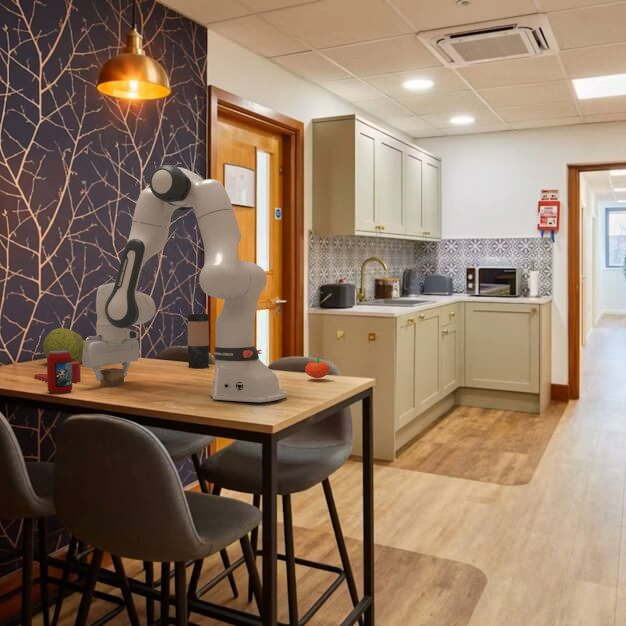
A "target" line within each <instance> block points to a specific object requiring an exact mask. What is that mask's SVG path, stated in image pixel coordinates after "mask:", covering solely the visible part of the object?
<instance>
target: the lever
mask: <svg viewBox="0 0 626 626" xmlns="http://www.w3.org/2000/svg"><path fill="white" fill-rule="evenodd" d="M33 379H35V380H37V379H38V380H37V381H41V380H42V381H41V382H44V381H45V383H47V382H48V380H47V373H35V374H34V378H33ZM80 381H81V362H77V361H72V383H75V384H78V383H77V382H79V383H81V382H82V381H81V382H80Z"/></svg>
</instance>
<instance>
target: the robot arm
mask: <svg viewBox="0 0 626 626" xmlns="http://www.w3.org/2000/svg"><path fill="white" fill-rule="evenodd" d="M148 182H149V187H147V188H145V189H143V190H141V192H140V193H139V195H138V199H137V201H136V205H135V208H134V211H133V217H132V221H131V227H130V232H129V237H128V240H127V242H126V244H125V246H124V249H123V252H122V255H121V260H120V264H119V267H118V270H117V274H116V277H115V278H116V279H115V281H112V282H111V281H110V282H105V283H102V284H100V285H99V286H98V288H97V291H96V298H95V312H96V315H97V320H96V322H95V323H96V324H95V326H96V329H95V330H96V331H95V332H96V335H94V336H93V335H88V337H87V338H86V339H85V340H84V348H83V356H82V361H81V363H82V365H83V367H85V368H92V371H93V373H94V375H95V380H96V381H97V382H100V381H102V380H104V378H103V377H104V375H102V374H101V372H100V370H102V367H103V366H110V365H117V364H121V365H122V368H121V369H124V378H125V377H127V376H128V370H129V368H130V366H131V362H133V363H134V362H138V360H139V359H140V343H139V340H138V338H139V332H138V331H136V330H133V329H130V328H129V327H131V326H135V325H136V326H137V325H142V324H146V323H148V322H150V321H151V320H152V319H154V316H155V315H156V309H157V306H156V302H155V301H154V299H153V297H152V296H150V295H149V294H148V293H147V294H146V293H143V292H140V291H138V290H137V289H138V285H139V281H140V277H141V274H142V269H143V267H144V266H145V264H146V263H147V262H148V260H150V259H151V258H152V257H153V256H155V255H157V254H158V253H160V252H161V251H162V250H163V249H164V248H165V245H166V243H167V241H168V236H169V232H170V227H171V221H172V220H171V219H172V216H173V213H174V212H175V211H176V210H177V209H179V211H185V210H186V211H187V210H194V215H195V217H196V222H197V224H198V228H199V232H200V236H201V238H202V243H203V244H202V245H203V250H204V264H203V267H202V269H201V271H200V272H199V278H198V281H199V282H198V283H199V286H200V288H201V290H202V292H203V293H204V294H205V295H207V296H209V297H212V298H215V299H218V300H223V301H224V302H223V304H222V308H221V311H220V312H219V314H218V316H217V317H216V319H215V346H214V347H213V348H214V350H213V351H214V352H213V353H214V354H213V358H214V362H215V363H214V364H215V366H214V375H213V381H212V382H213V383H212V388H211V392H210V395H209V396H211V397H212V400H220V401H230V402H231V401H233V402H235V401H236V402H246V403H247V402H250V403H265V402H272V401H276V400H277V401H278V400H281V399H284V398H286V397H287V396H288V393H287V391H282V390H280V384H279V379H278V376H277V374H276V373H275V372H274V371H272V369H270V368H269V367H268V366H267V365H266V364H265V363H264V362H263V361H262V360H260V356H259V355H261V354H262V351H263V349H257V348H256V346H255V317H256V313H257V312H256V311H257V307H258V304H259V300H260V296H261V294H262V292H263V291H264V290H265V288H266V286H267V282H268V281H267V280H268V279H267V275H266V272H265V270H264V268H262V266H260V265H258V264H257V263H255V262H252V261H247V260H240V258H239V242H240V241H241V239H242V234H241V231H240V227H239V224H238V221H237V216H236V214H235V211H234V208H233V204H232V202H231V198H230V197H229V194H228V192H227V190H226V188H225V186H224V184H223V183H222V182H221V181H219V180H218V179H212V178H208V179H205V177H203V176H202V175H201V174H198V173H196V172H193V171H191V170H189V169H187V168H184V167H181V166H180V167H179V166H176V165H173V164H163V165H159V166H157V167H156V168H155V169H154V170H153V171H152V172H151V174H150V177H149V181H148Z"/></svg>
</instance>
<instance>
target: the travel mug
mask: <svg viewBox="0 0 626 626" xmlns="http://www.w3.org/2000/svg"><path fill="white" fill-rule="evenodd" d="M209 324H210V323H209V313H190V314H187V358H188V361H187V362H188V368H189V369H192V370H193V369H194V370H204V369H209V364H210V363H209V362H210V360H209V357H210V354H209V353H210V338H209V337H210V335H209V332H210V331H209V327H210V326H209Z"/></svg>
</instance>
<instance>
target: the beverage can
mask: <svg viewBox="0 0 626 626" xmlns="http://www.w3.org/2000/svg"><path fill="white" fill-rule="evenodd" d="M46 363H47V364H46V374H47V380H48V383H47V391H48V392H49V393H51V394H53V393H55V394H56V395H59V394H62V395H63V394H67V393H69V392H71V391H72V390H73V384H72V356H71V355H70V353H69V351H66V350H59V351H50V352H49V355H48V357H46ZM55 394H54V395H55Z"/></svg>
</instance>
